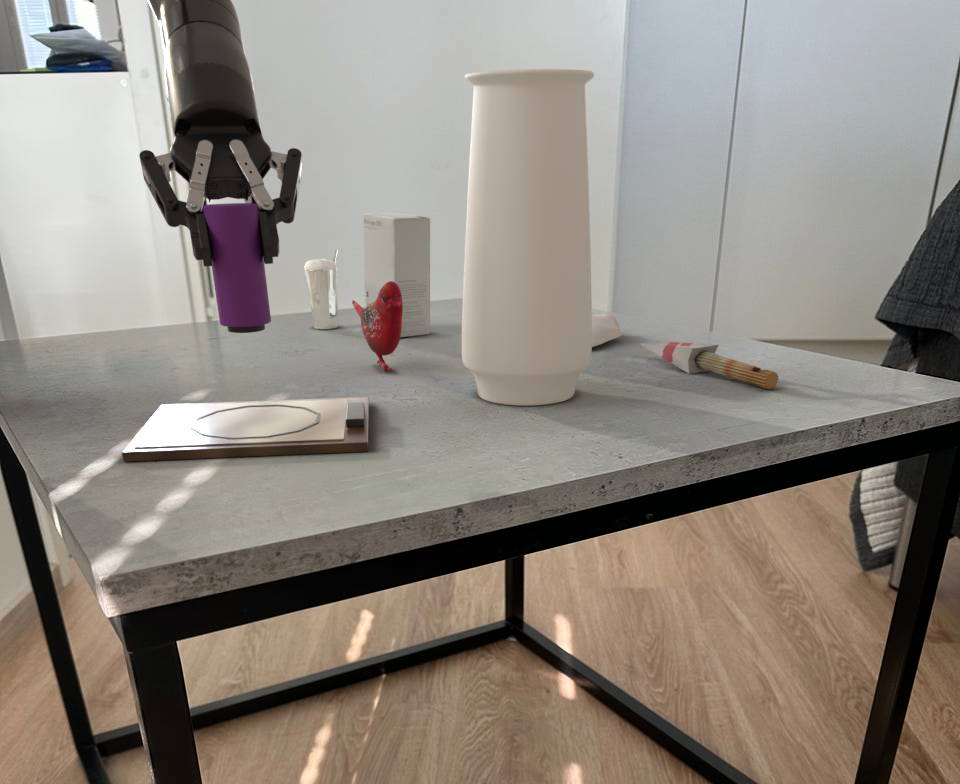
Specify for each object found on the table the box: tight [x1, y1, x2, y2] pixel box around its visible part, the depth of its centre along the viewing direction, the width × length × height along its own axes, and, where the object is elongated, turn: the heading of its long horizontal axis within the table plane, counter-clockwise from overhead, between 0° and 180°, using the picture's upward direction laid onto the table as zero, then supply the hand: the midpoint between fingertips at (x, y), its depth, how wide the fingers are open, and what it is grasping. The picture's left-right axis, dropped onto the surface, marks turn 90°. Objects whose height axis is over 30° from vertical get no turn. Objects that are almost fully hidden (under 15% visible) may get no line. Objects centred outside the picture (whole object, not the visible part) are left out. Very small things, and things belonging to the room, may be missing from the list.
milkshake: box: [303, 249, 339, 330], centre depth 129 cm, size 4×5×10 cm
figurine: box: [592, 310, 624, 348], centre depth 116 cm, size 20×18×16 cm
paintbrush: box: [639, 340, 779, 390], centre depth 102 cm, size 4×3×20 cm
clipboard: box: [121, 396, 370, 463], centre depth 83 cm, size 20×16×2 cm
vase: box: [461, 68, 595, 407], centre depth 88 cm, size 13×13×28 cm
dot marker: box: [203, 202, 272, 334], centre depth 79 cm, size 4×4×10 cm
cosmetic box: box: [362, 212, 431, 338], centre depth 123 cm, size 8×6×15 cm
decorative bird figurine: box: [351, 281, 403, 372], centre depth 105 cm, size 3×18×10 cm, turn 23°
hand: (238, 257), depth 77 cm, fingers closed on dot marker, 4 cm apart
